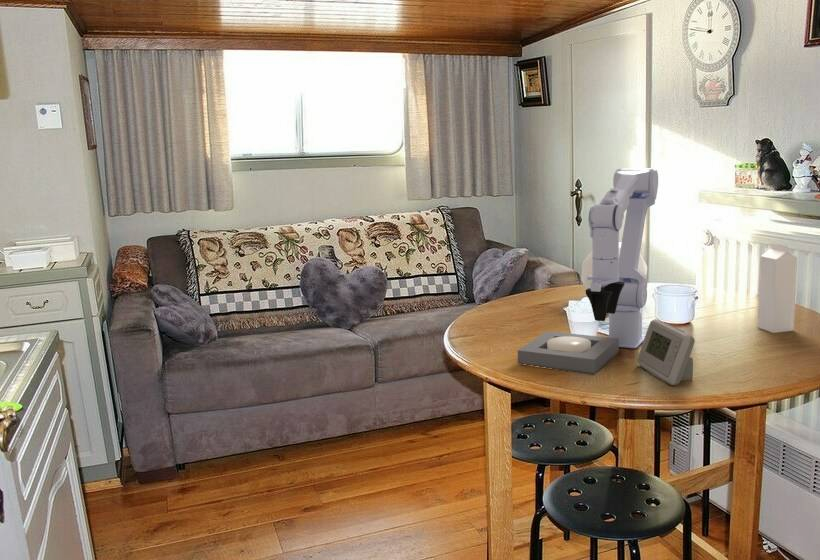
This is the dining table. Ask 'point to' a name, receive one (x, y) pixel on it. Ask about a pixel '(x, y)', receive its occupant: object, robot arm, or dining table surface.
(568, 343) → the button cap
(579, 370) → the button housing
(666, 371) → the digital clock
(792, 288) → the milk
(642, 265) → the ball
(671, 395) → the dining table surface
